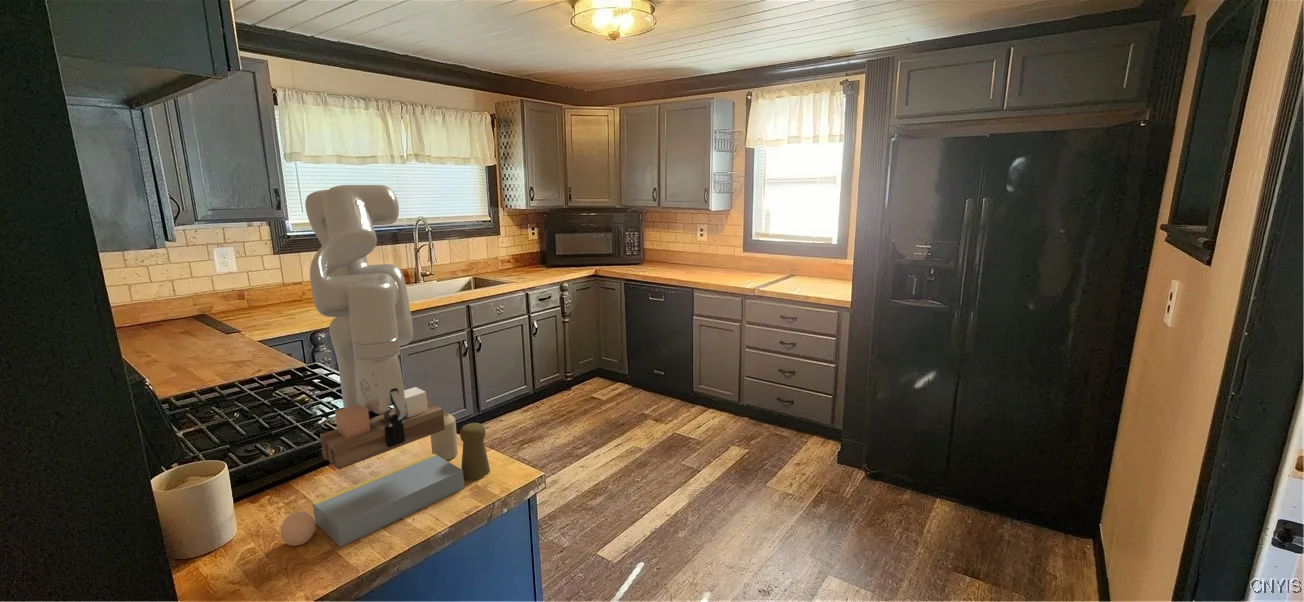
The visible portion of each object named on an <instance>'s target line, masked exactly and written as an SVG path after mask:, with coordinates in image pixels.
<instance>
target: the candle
mask: <svg viewBox="0 0 1304 602" xmlns="http://www.w3.org/2000/svg"><path fill="white" fill-rule="evenodd" d="M443 416H444V428H445V430H442V431H440V432H437V433H434V434H432V435H430V442H431V443H430V444H431V454H436V455H438V456H439V457H441V458H443V459H444V460H446V461H449V460H448V459H450V460H452V459H454V458H456V457H457V456H458V454H459V451H458V450H459V449H458V437H457V436H458V435H457V423H456V421H457V420H456V418H455V417H454V415H452V414H451V413H449V412H446V413H443ZM456 455H457V456H456ZM455 456H456V457H455ZM453 457H454V458H453ZM451 458H452V459H451Z"/></svg>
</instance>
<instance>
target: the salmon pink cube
mask: <svg viewBox="0 0 1304 602" xmlns="http://www.w3.org/2000/svg"><path fill="white" fill-rule="evenodd" d="M334 415H335V421H336V429H337V430H338V432H339V433H340V434H342V435H343V436H345V437H346V438H350V437H353V436H356V435H358V434H361V433H364V432H367V431H370V422H369V413H368V410H367V409H366V408H364V407H362V406H361V405H359V404H357V405H353V406H350V407H347V408H344V407H343V408H340V409H337V410H335V411H334Z"/></svg>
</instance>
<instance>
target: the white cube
mask: <svg viewBox="0 0 1304 602" xmlns="http://www.w3.org/2000/svg"><path fill="white" fill-rule="evenodd" d="M404 395H405V404H404V406H405V408H406V410H407V413H406V415H405V416H406V417H408V418H409V417H412V416H415V415H418V414H421V413H423V412H426V411H428V406H427V401H428V397H427V396H428V395H427V392H426V390H423V389H421V388H419V387H417V386H414V387H411V388H407V389H404Z"/></svg>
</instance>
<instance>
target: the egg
mask: <svg viewBox="0 0 1304 602" xmlns="http://www.w3.org/2000/svg"><path fill="white" fill-rule="evenodd" d="M315 531H316V523H315V518H314V517H313V516H312V515H311V514H310V513H308V512H307V511H304V510H297V511H293V512H291V513H289V514H288V515H287V516H285V519H284V520H283V521H282V524H281V526H280V537H281V539H282V541H283V542H284V543H285V544H287V545H289V546H294V547H295V546H301V545H303V544H305V543H307V542H308V541H309V540H310V539H311V538H312V537H313V535H314V534H315Z"/></svg>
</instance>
